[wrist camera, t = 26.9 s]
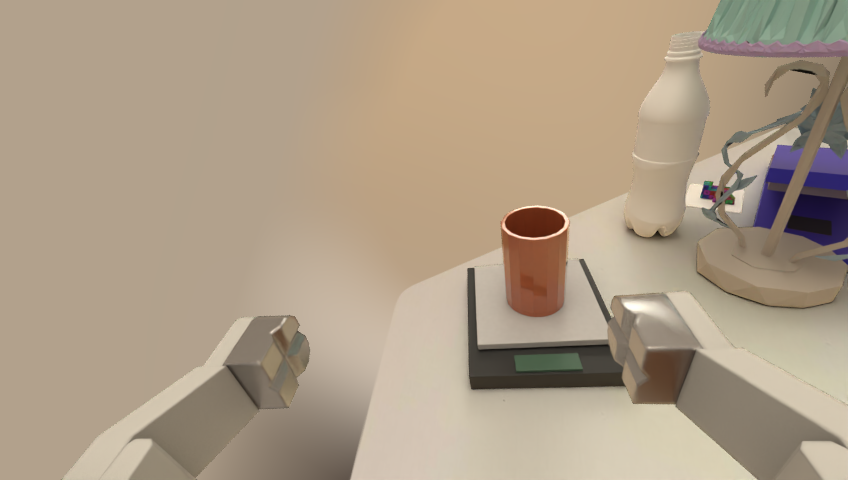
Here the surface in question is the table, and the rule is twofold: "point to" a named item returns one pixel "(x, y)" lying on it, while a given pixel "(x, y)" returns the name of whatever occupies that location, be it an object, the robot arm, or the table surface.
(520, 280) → the cup
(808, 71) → the table lamp
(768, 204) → the stapler
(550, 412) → the table surface
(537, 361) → the scale
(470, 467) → the table surface
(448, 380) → the table surface
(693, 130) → the water bottle
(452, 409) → the table surface
